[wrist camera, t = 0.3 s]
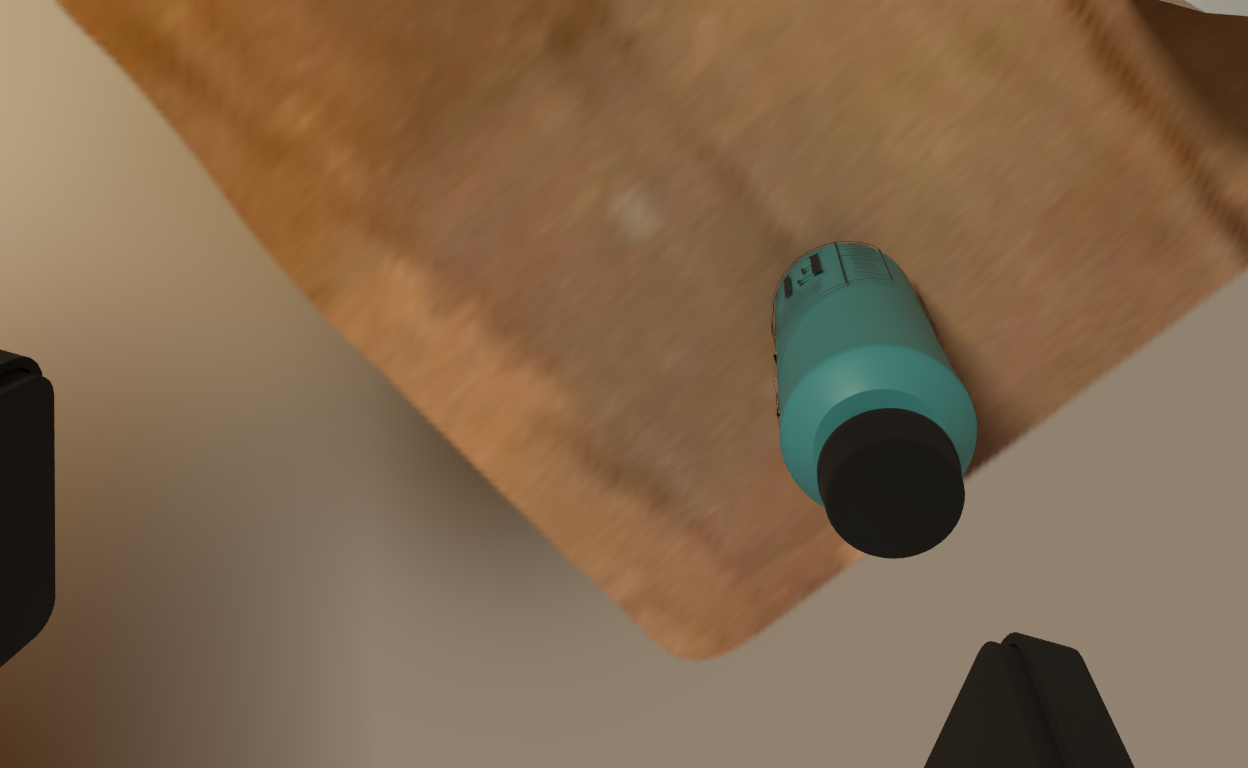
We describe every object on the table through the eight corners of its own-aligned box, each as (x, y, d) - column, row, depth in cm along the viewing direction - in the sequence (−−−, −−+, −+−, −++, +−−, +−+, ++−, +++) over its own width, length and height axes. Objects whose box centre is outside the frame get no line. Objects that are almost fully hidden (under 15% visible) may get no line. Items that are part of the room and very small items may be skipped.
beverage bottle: (810, 206, 44) (841, 354, 25) (941, 268, 44) (1066, 458, 26) (746, 329, 46) (733, 544, 28) (871, 386, 47) (938, 637, 28)
